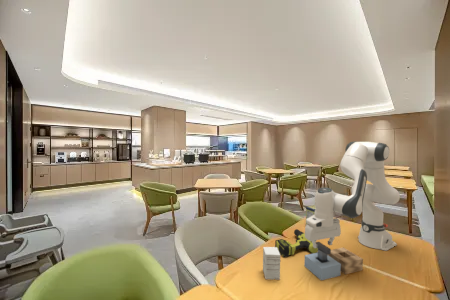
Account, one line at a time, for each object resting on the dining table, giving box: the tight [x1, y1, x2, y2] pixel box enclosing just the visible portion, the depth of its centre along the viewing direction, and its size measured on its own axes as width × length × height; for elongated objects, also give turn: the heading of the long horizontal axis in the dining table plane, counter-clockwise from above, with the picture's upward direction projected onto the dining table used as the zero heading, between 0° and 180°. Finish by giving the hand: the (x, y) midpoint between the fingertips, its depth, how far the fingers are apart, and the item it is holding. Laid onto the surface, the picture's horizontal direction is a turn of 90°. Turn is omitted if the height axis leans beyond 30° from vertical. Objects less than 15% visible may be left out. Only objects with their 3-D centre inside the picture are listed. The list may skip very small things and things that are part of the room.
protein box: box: [305, 204, 315, 226], centre depth 163 cm, size 10×16×16 cm
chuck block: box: [303, 252, 342, 281], centre depth 108 cm, size 12×12×6 cm
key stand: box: [327, 247, 364, 275], centre depth 113 cm, size 12×12×6 cm
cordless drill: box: [274, 228, 318, 258], centre depth 134 cm, size 7×25×25 cm
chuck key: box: [315, 241, 332, 263], centre depth 108 cm, size 8×3×13 cm, turn 19°
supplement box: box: [262, 246, 281, 280], centre depth 104 cm, size 7×7×13 cm
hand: (322, 246), depth 108 cm, fingers open, 8 cm apart
